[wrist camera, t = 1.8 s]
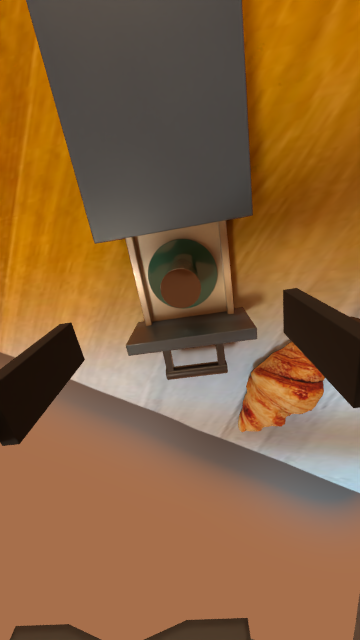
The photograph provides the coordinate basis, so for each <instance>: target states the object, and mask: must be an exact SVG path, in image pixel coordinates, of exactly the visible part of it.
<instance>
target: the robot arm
mask: <svg viewBox="0 0 360 640" xmlns="http://www.w3.org/2000/svg"><path fill="white" fill-rule="evenodd" d="M283 314H284V333H285V334H286V336H287V337H288V338H289V339H290V340H291V341H292V342H293V343H294V344H295V345H296V346H297V347H298V349H299V350H300V351H301V352H302V353H303V354H304V355H305V356H306V357H307V358H308V359H309V360H310V362H311V363H312V364H313V365H314V366H315V367H316V368H317V369H318V370H319V371H320V372H321V373H322V375H323V376H324V377H325V378H326V379H327V380H328V381H329V382H330V383H331V384H332V385H333V386H334V388H335V389H336V390H337V391H338V392H339V393H340V394H341V395H342V396H343V397H344V398H345V399H346V401H347V402H348V403H349V404H350V405H351V406H352V407H353V408H359V407H360V319H359V318H355V317H349V316H347V315H345V314H343V313H341V312H339V311H338V310H336V309H334V308H332V307H330V306H328V305H327V304H325V303H323V302H321V301H319V300H318V299H316V298H314V297H312V296H310V295H308V294H307V293H305V292H303V291H301V290H299V289H298V288H294V289H287V290H283ZM84 360H85V359H84V356H83V354H82V351H81V348H80V345H79V343H78V340H77V337H76V334H75V332H74V329H73V326H72V323H65V324H59V325H58V326H57V327H56V328H54V329H53V330H52V331H50V332H49V333H48V334H46V335H45V336H44V337H42V338H41V339H40V340H38V341H37V342H36V343H34V344H33V345H32V346H30V347H29V348H28V349H26V350H25V351H24V352H23V353H21V354H20V355H19V356H17V357H16V358H15V359H13V360H12V361H11V362H9V363H8V364H7V365H5V366H4V367H3V368H2V369H0V443H1V444H2V446H5V445H15V444H20V443H21V441H22V440H23V439H24V438H25V436H26V435H27V434H28V432H29V431H30V430H31V429H32V427H33V426H34V425H35V423H36V422H37V421H38V419H39V418H40V417H41V416H42V414H43V413H44V412H45V411H46V409H47V408H48V406H49V405H50V404H51V403H52V401H53V400H54V399H55V398H56V396H57V395H58V394H59V392H60V391H61V390H62V389H63V387H64V386H65V385H66V383H67V382H68V381H69V380H70V378H71V377H72V376H73V374H74V373H75V372H76V371H77V369H78V368H79V367H80V365H81V364H82V363H83V361H84ZM10 640H101V639H99V638H97V637H94V636H92V635H90V634H88V633H86V632H84V631H82V630H80V629H77V628H75V627H73V626H71V625H69V624H65V625H36V626H16V627H15V629H14V632H13V634H12V636H11V638H10ZM145 640H253V639H251V638H250V631H249V625H248V618H237V619H236V618H234V619H205V620H186V621H184V622H182V623H180V624H177V625H175V626H173V627H171V628H169V629H167V630H164V631H162V632H160V633H158V634H155V635H153V636H151V637H149V638H147V639H145ZM353 640H360V597H359V603H358V611H357V618H356V625H355V632H354V638H353Z"/></svg>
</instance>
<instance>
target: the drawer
mask: <svg viewBox="0 0 360 640" xmlns="http://www.w3.org/2000/svg"><path fill="white" fill-rule="evenodd" d="M125 239H126V243H127V247H128V252H129V256H130V260H131V264H132V268H133V273H134V277H135V281H136V285H137V290H138V294H139V298H140V302H141V307H142V311H143V315H144V319H145V321H143V322H138V324H137V326H136V327H135V329H134V331H133V333H132V335H131V337H130V339H129V340H128V342H127V344H126V348H127V352H128V355H129V356H131V355H138V354H146V353H154V352H161V351H163V355H164V359H165V364H166V376H167V379H168V380H170V379H179V378H187V377H196V376H204V375H212V374H221V373H228V369H227V363H226V360H225V354H224V345H223V343H230V342H238V341H245V340H253V339H257V328H256V326H255V325H254V323H253V322H252V320H251V319H250V317H249V316H248V315H247V313H246V312H245V310H244V309H243V307H241V308H234V306H233V294H232V283H231V272H230V261H229V249H228V238H227V227H226V220H224V221H219V222H213V223H208V224H202V225H196V226H191V227H185V228H180V229H174V230H168V231H163V232H157V233H152V234H146V235H140V236H135V237H129V238H125ZM175 239H190V240H194V241H196V242H198V243H200V244H202V245H203V246H204V247H206V248H207V249H208V250H209V252H210V253H211V254H212V256H213V258H214V260H215V262H216V265H217V282H216V285H215V288H214V290H213V292H212V293H211V295H210V296H209V297H208V298H207V299H206V300H205V301H204V302H202V303H201V304H199V305H197V306H195V307H192V308H186V309H179V308H174V307H171V306H168V305H166V304H164V303H163V302H162V301H160V300H159V299H158V298H157V297H156V296H155V294H154V293H153V291H152V290H151V287H150V285H149V281H148V266H149V263H150V260H151V258H152V256H153V254H154V253H155V252H156V251H157V249H158V248H159V247H161V246H162V245H163V244H165V243H167V242H169V241H172V240H175ZM215 344H216V350H217V358H218V361H217V362H209V363H201V364H192V365H184V366H176V367H174V364H173V359H172V354H171V350H177V349H184V348H192V347H199V346H207V345H215Z"/></svg>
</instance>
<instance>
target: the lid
mask: <svg viewBox="0 0 360 640" xmlns="http://www.w3.org/2000/svg"><path fill="white" fill-rule="evenodd" d="M148 281H149V285H150V287H151V290H152V291H153V293H154V294H155V296H156V297H157V298H158V299H159V300H160V301H162V302H163V303H164V304H166V305H168V306H171V307H174V308H179V309H186V308H192V307H195V306H197V305H199V304H201V303H202V302H204V301H205V300H206V299H207V298H208V297H209V296H210V295H211V293H212V292H213V290H214V288H215V285H216V282H217V265H216V262H215V260H214V258H213V256H212V254H211V253H210V252H209V250H208V249H207V248H206V247H204V246H203V245H202V244H200V243H198V242H196V241H194V240H190V239H175V240H172V241H169V242H167V243H165V244H163V245H162V246H161V247H159V248H158V249H157V251H156V252H155V253H154V254H153V256H152V258H151V260H150V263H149V266H148Z"/></svg>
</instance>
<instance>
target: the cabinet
mask: <svg viewBox="0 0 360 640" xmlns="http://www.w3.org/2000/svg"><path fill="white" fill-rule="evenodd" d="M26 2H27V5H28V9H29V12H30V16H31V19H32V23H33V26H34V30H35V33H36V37H37V41H38V44H39V48H40V51H41V55H42V58H43V62H44V65H45V69H46V72H47V76H48V80H49V83H50V87H51V90H52V94H53V97H54V101H55V104H56V108H57V111H58V115H59V118H60V122H61V126H62V129H63V133H64V136H65V140H66V143H67V147H68V150H69V154H70V157H71V161H72V165H73V168H74V172H75V175H76V179H77V182H78V186H79V189H80V193H81V196H82V200H83V203H84V207H85V211H86V214H87V218H88V221H89V225H90V228H91V232H92V235H93V239H94V242H95V243H102V242H108V241H114V240H120V239H125V238H129V237H135V236H140V235H146V234H152V233H157V232H163V231H168V230H174V229H180V228H185V227H191V226H196V225H202V224H208V223H213V222H219V221H224V220H232V219H237V218H242V217H247V216H252V215H253V211H252V191H251V171H250V152H249V132H248V112H247V93H246V73H245V54H244V34H243V14H242V0H26Z"/></svg>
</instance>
